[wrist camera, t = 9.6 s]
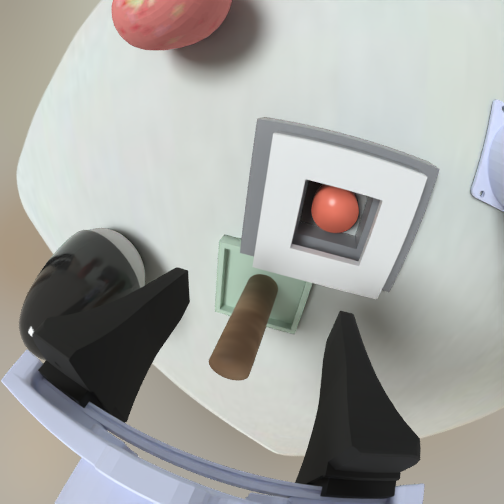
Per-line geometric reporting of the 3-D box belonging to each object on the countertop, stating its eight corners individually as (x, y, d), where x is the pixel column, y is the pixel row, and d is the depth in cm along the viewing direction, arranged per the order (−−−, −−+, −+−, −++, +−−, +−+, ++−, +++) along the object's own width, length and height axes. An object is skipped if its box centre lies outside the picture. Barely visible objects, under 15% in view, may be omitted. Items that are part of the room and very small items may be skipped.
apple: (242, 55, 15) (186, 32, 9) (153, 59, 17) (77, 56, 10) (252, -27, 11) (207, -78, 5) (163, -16, 13) (96, -41, 6)
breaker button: (362, 188, 18) (364, 195, 16) (350, 228, 19) (350, 238, 18) (318, 176, 18) (317, 182, 17) (308, 217, 20) (306, 226, 19)
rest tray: (318, 258, 22) (317, 267, 21) (296, 325, 26) (294, 334, 25) (224, 234, 23) (219, 241, 22) (219, 303, 27) (214, 311, 26)
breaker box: (429, 162, 15) (450, 177, 12) (386, 277, 21) (392, 309, 17) (264, 117, 17) (247, 120, 14) (247, 240, 23) (231, 267, 19)
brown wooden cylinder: (284, 286, 24) (257, 370, 16) (267, 304, 25) (237, 384, 18) (257, 268, 23) (219, 348, 16) (241, 287, 25) (202, 365, 18)
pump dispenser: (79, 234, 29) (-10, 308, 16) (122, 198, 24) (-3, 289, 12) (123, 299, 32) (52, 385, 20) (176, 282, 28) (89, 399, 15)
